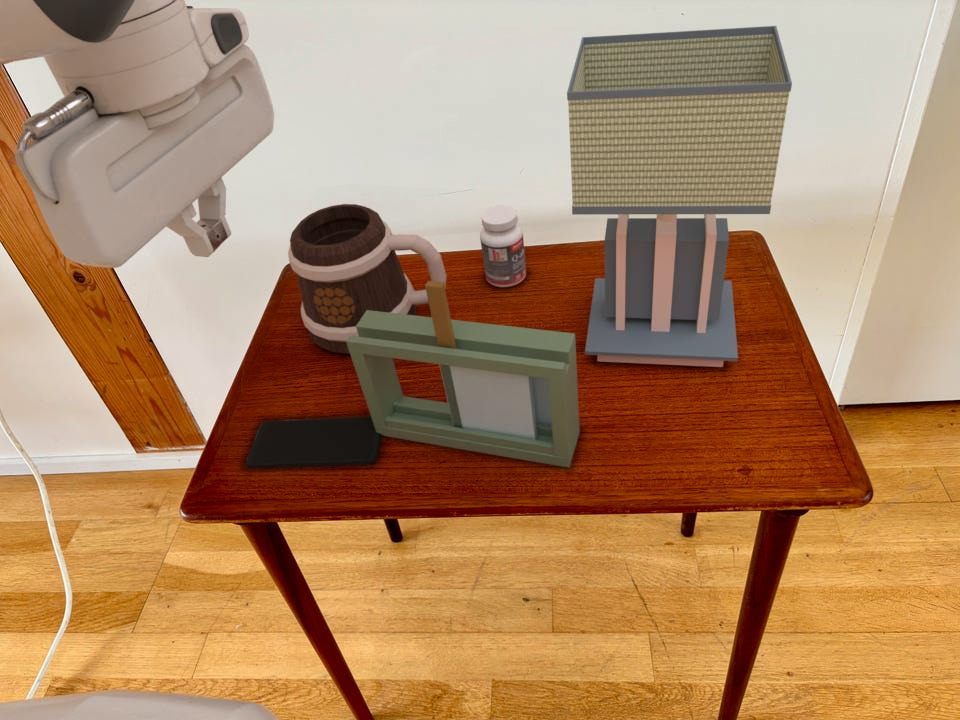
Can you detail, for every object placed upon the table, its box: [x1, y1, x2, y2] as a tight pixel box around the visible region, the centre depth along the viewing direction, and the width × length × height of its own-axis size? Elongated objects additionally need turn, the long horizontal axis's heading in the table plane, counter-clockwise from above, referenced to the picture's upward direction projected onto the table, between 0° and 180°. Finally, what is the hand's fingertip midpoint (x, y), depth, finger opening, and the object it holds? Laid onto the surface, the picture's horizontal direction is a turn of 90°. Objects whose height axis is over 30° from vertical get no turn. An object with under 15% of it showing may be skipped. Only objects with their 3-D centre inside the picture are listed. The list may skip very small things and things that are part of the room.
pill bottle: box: [479, 204, 527, 288], centre depth 95 cm, size 6×6×10 cm
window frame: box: [346, 310, 581, 469], centre depth 73 cm, size 5×22×14 cm, turn 72°
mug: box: [287, 203, 448, 355], centre depth 90 cm, size 20×15×15 cm
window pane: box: [424, 280, 538, 440], centre depth 69 cm, size 1×9×19 cm, turn 72°
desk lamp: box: [566, 25, 793, 368], centre depth 76 cm, size 18×14×33 cm
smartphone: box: [245, 415, 383, 470], centre depth 80 cm, size 7×1×15 cm
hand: (212, 246), depth 53 cm, fingers closed
